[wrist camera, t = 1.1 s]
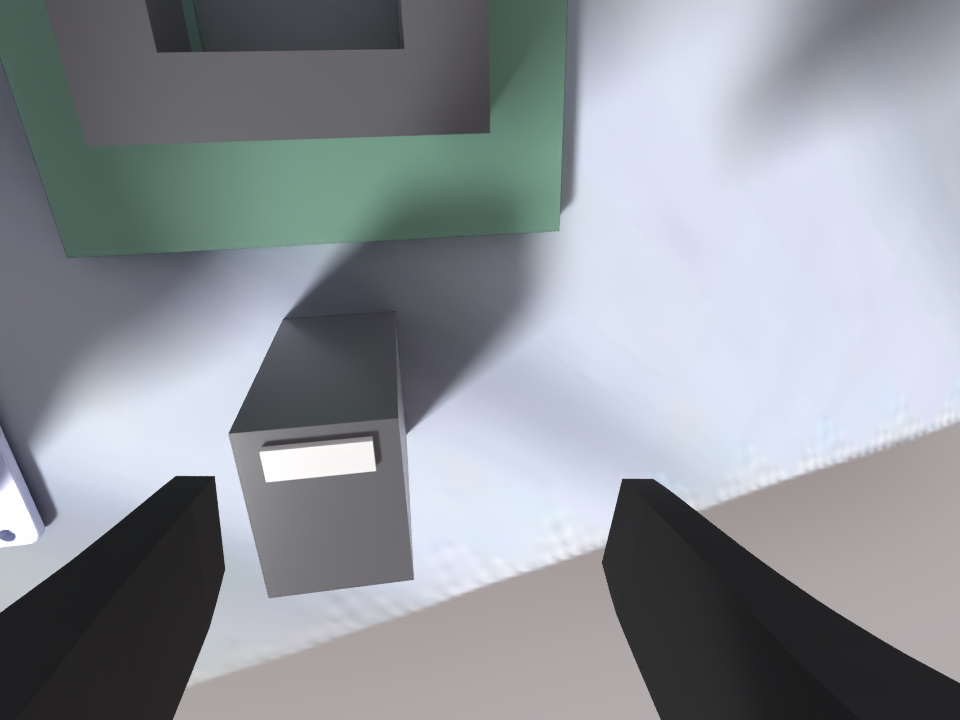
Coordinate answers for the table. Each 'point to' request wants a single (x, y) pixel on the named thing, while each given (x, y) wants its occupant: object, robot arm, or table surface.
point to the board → (303, 167)
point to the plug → (327, 456)
